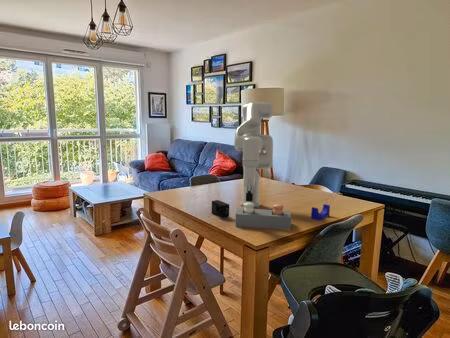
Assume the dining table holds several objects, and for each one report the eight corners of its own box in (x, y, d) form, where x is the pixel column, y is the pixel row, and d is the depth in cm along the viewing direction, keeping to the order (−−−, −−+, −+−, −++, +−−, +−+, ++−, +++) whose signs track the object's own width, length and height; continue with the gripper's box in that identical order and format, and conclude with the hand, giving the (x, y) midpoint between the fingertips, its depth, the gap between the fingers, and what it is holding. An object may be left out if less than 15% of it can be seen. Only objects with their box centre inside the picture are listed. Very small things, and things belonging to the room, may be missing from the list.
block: (236, 219, 155) (237, 208, 154) (288, 222, 152) (289, 210, 151) (235, 226, 145) (235, 214, 144) (290, 229, 142) (291, 217, 141)
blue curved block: (318, 221, 156) (319, 209, 155) (310, 218, 159) (311, 207, 158) (331, 216, 163) (332, 206, 162) (324, 214, 167) (325, 204, 166)
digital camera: (209, 213, 164) (209, 201, 163) (217, 212, 167) (218, 199, 166) (220, 218, 155) (220, 205, 154) (229, 217, 159) (229, 204, 157)
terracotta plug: (272, 215, 150) (272, 203, 149) (282, 215, 149) (283, 204, 148) (272, 218, 145) (273, 206, 144) (283, 219, 144) (283, 207, 143)
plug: (243, 213, 151) (244, 202, 150) (253, 214, 151) (254, 202, 150) (243, 216, 146) (243, 204, 145) (253, 217, 146) (254, 205, 145)
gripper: (243, 161, 152) (242, 196, 155) (241, 165, 138) (240, 204, 140) (258, 161, 151) (257, 197, 154) (258, 166, 137) (256, 205, 140)
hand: (249, 200), depth 147 cm, fingers closed
